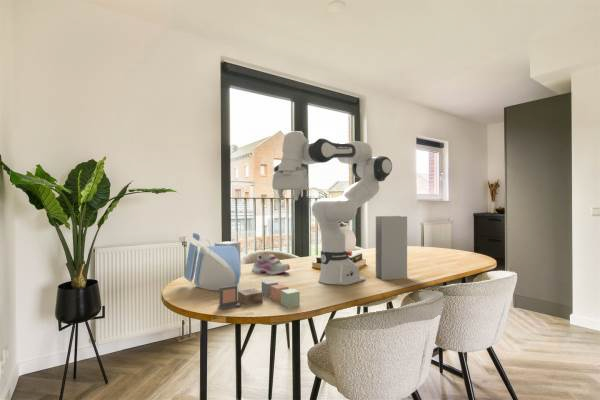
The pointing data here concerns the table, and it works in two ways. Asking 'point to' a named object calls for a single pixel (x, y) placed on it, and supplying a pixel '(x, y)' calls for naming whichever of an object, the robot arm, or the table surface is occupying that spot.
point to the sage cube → (290, 297)
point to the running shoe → (269, 264)
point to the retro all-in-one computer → (213, 266)
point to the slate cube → (268, 287)
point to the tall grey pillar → (391, 247)
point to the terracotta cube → (277, 291)
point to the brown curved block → (250, 296)
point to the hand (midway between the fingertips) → (288, 200)
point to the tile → (228, 297)
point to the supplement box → (228, 243)
